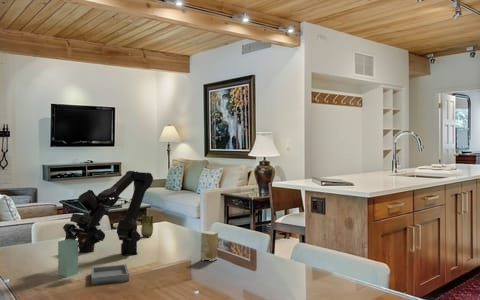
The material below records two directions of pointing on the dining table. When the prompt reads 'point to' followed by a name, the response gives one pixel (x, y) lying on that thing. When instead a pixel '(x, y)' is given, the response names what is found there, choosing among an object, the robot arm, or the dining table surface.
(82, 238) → the coffee mug
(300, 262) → the dining table surface
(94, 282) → the box
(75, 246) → the teal block
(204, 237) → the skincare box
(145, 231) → the fennel bulb
